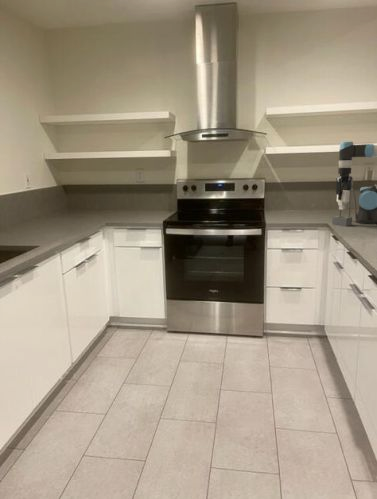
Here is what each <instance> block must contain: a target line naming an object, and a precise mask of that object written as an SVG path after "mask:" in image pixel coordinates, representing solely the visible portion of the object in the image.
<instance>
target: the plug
mask: <svg viewBox="0 0 377 499" xmlns="http://www.w3.org/2000/svg"><path fill="white" fill-rule="evenodd" d="M342 195H343V204H342V205H338V210H340V209H341V211H344V210H346V209H347V205H346V202H347V203H349V196H350V197H351V192H350V191H346V190H344V189H343V193H342ZM336 203H338V195H337V194H336Z"/></svg>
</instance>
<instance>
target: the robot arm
mask: <svg viewBox="0 0 377 499" xmlns="http://www.w3.org/2000/svg"><path fill="white" fill-rule="evenodd" d="M338 153H339V155H338V167H339V168H338V171H337V172H338V174H339V175H338V176H339V177H337V178H336V179H335V180H336V188H335V189H336V190H335V194H336V196H337V195H338V202H337V205H338V206H339V205H342V204H343V195H342V193H343V190H346V191H351V192H352V190H351V180H352V177H353V176H352V177H349V176H350V175H351V174H352V166H353V164H352V163H353V158H374V159H375V158H377V145H376V144H373V143H366V144H365V143H364V144H354V142H353V141H342V142H340V144H339V151H338ZM359 189H360V190H359V197H358V211H357V216H356V218H355V219H354V222H355V223H356V224H357V223H358V224H366V225H375V224H376V225H377V184H374V185H372V186H362V187H360V188H359ZM347 205H348V202H346V206H347Z"/></svg>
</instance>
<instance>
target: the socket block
mask: <svg viewBox="0 0 377 499" xmlns="http://www.w3.org/2000/svg"><path fill="white" fill-rule="evenodd" d="M352 222H353V217H352V216H350V217H349V216H343V215H341V216H339V215H335V216H332V218H331V225H333V226H334V225H335V226H340V227H348V226H349V225H350V226H352V225H353V223H352Z"/></svg>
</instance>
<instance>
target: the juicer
mask: <svg viewBox="0 0 377 499" xmlns="http://www.w3.org/2000/svg"><path fill="white" fill-rule="evenodd" d="M349 177H352V180H351V191H350V193H351V192H352V197H353V206H354V215H355V218H356V216H357V213H358V211H357V200H356V193H355V190H354V187H353V185H354V177H353V176H352V175H349ZM338 214H339V215H338V216H342V215H341V214H342V210H341V209H339V213H338ZM348 215H349V216H348V217H351V195H350V196H349V202H348Z"/></svg>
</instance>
